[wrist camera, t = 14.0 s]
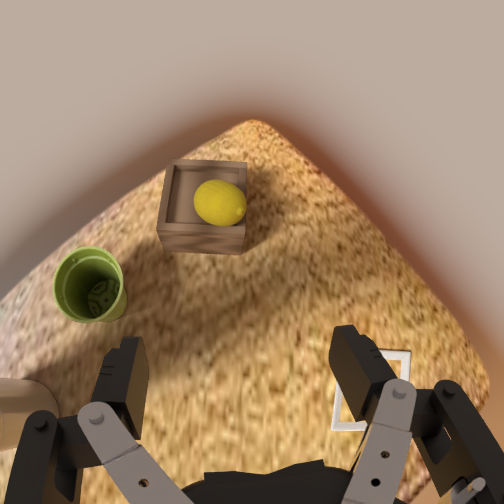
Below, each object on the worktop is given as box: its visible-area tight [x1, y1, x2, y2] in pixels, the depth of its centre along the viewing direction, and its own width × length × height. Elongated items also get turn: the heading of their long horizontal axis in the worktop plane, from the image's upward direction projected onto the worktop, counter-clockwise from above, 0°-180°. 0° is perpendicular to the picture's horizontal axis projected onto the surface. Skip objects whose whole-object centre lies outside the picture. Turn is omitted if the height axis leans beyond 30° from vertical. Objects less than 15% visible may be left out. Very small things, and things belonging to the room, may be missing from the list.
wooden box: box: [156, 159, 247, 255], centre depth 45 cm, size 11×11×8 cm
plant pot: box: [53, 246, 127, 323], centre depth 38 cm, size 9×9×9 cm
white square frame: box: [331, 350, 411, 431], centre depth 39 cm, size 12×12×5 cm
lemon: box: [194, 180, 247, 226], centre depth 39 cm, size 6×6×8 cm
